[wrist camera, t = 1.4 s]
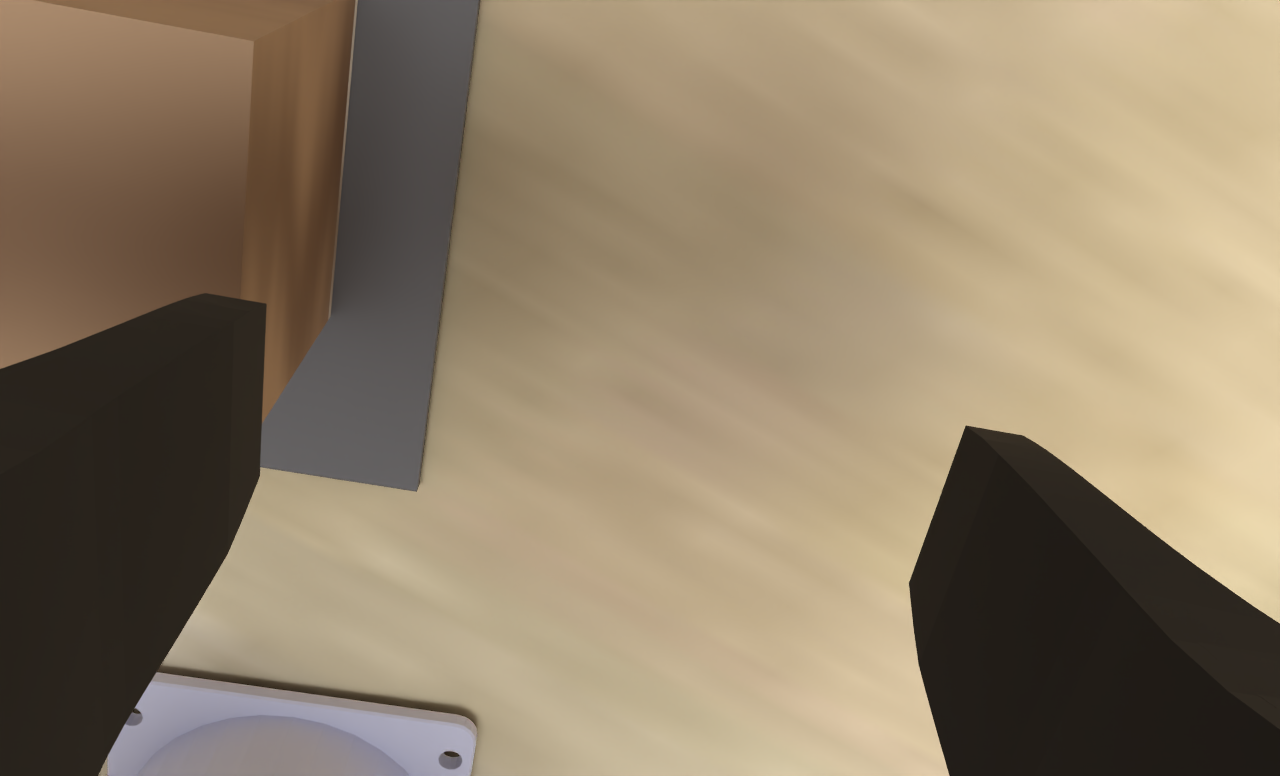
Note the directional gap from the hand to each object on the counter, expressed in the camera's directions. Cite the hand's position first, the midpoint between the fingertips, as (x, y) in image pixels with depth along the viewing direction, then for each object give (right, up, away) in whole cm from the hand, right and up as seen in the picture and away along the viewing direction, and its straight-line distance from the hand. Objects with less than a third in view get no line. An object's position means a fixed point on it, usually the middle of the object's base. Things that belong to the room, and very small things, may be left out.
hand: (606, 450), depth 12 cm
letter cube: (-8, +5, +9) cm, 13 cm away
